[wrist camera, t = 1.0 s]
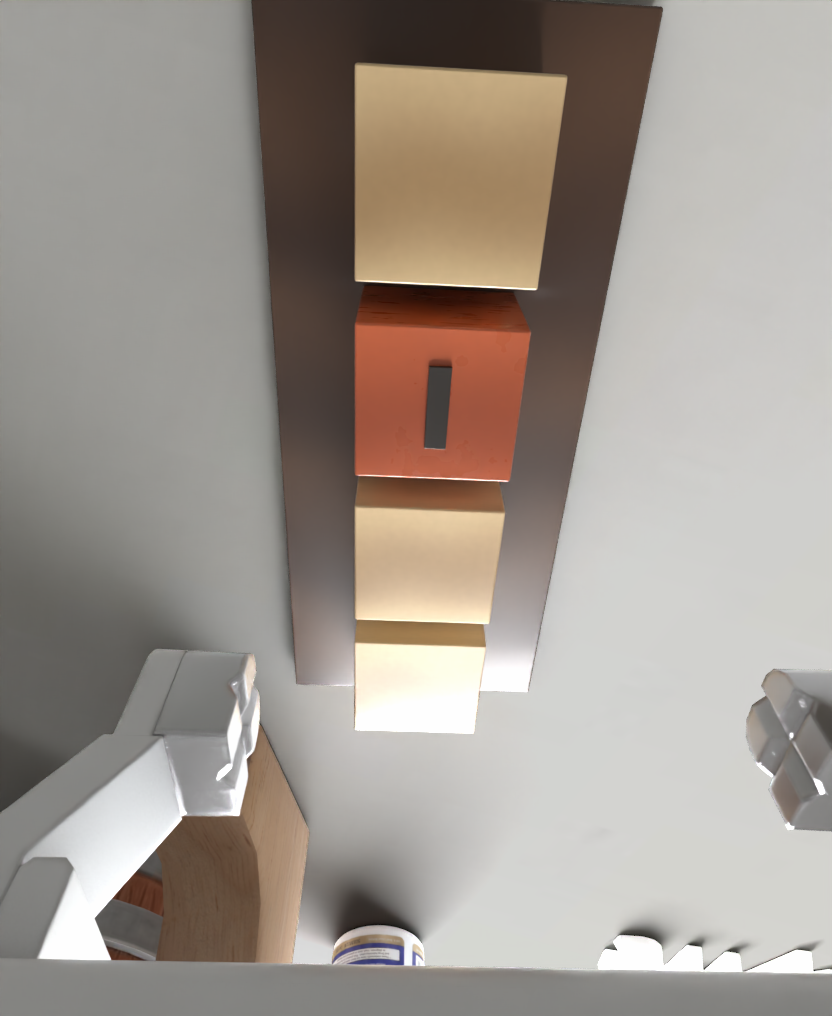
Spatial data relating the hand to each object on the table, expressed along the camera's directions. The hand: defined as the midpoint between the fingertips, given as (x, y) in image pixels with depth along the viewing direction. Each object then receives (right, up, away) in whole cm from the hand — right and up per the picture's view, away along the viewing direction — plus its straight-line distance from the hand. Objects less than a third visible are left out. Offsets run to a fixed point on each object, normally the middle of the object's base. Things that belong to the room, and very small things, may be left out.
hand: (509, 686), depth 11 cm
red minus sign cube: (-1, +8, +11) cm, 13 cm away
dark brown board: (-1, +6, +13) cm, 14 cm away
